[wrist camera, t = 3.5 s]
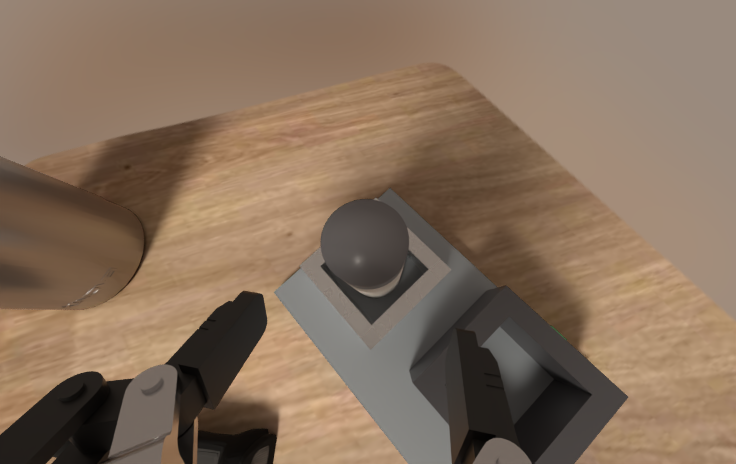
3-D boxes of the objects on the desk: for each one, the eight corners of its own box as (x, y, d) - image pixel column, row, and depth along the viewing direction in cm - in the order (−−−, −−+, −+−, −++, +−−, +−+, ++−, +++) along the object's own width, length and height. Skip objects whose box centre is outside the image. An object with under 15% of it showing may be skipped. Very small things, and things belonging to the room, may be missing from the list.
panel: (279, 293, 21) (273, 292, 21) (390, 193, 23) (389, 187, 22) (459, 521, 17) (463, 534, 16) (584, 374, 18) (595, 377, 17)
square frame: (310, 271, 21) (299, 265, 18) (377, 210, 22) (375, 197, 19) (373, 345, 19) (370, 350, 16) (444, 275, 20) (451, 269, 17)
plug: (341, 272, 20) (303, 239, 11) (376, 239, 21) (366, 183, 12) (374, 309, 20) (361, 305, 10) (410, 273, 20) (428, 241, 11)
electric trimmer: (88, 393, 21) (36, 407, 18) (280, 426, 19) (258, 447, 16) (69, 451, 20) (10, 476, 17) (269, 491, 18) (243, 528, 15)
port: (409, 370, 18) (412, 383, 15) (489, 287, 19) (509, 281, 16) (501, 476, 16) (529, 518, 13) (585, 377, 17) (631, 392, 14)
